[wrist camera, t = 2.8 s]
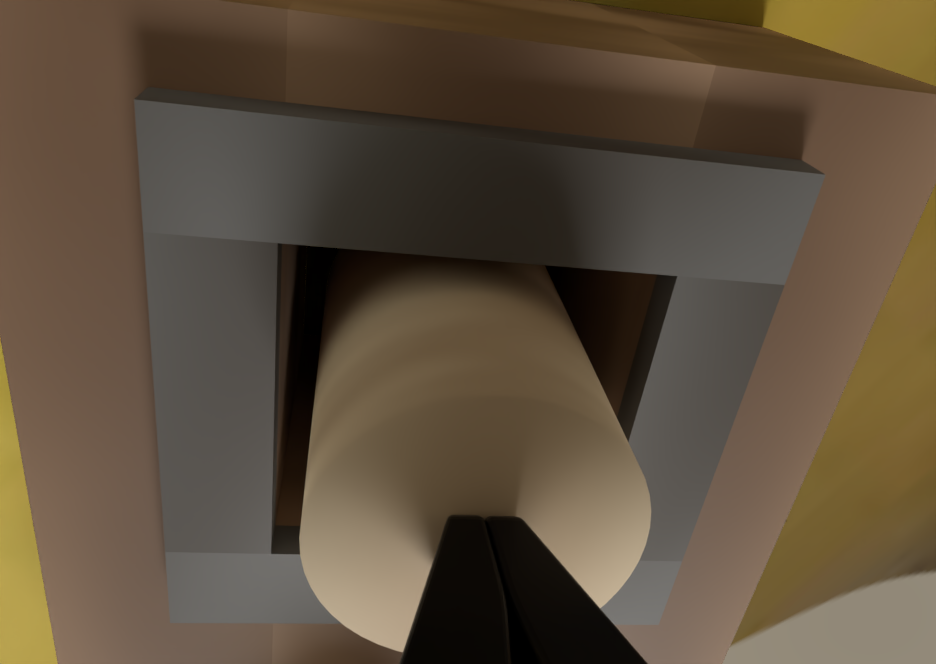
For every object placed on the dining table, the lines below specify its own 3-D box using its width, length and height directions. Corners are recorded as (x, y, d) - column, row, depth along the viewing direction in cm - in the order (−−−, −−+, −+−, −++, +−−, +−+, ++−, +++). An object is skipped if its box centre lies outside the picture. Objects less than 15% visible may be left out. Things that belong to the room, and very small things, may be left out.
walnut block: (169, 738, 23) (105, 1010, 18) (107, -65, 13) (-96, -33, 7) (550, 731, 25) (603, 973, 20) (763, 28, 15) (1007, 110, 9)
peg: (320, 386, 15) (294, 659, 9) (332, 183, 13) (306, 384, 7) (526, 397, 15) (607, 658, 10) (566, 205, 13) (692, 405, 8)
